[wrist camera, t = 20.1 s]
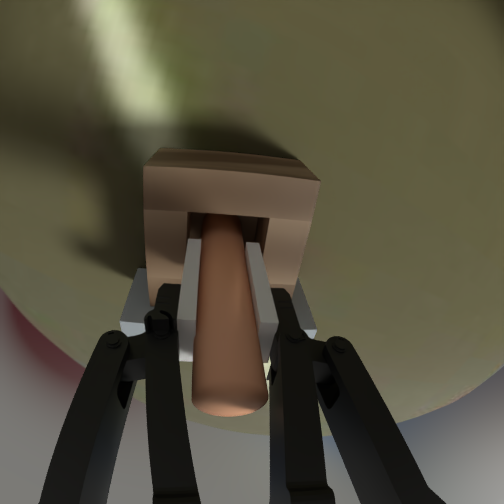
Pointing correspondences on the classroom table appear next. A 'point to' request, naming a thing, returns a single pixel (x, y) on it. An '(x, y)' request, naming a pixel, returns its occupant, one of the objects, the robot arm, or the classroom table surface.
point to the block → (226, 209)
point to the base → (140, 306)
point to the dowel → (226, 326)
